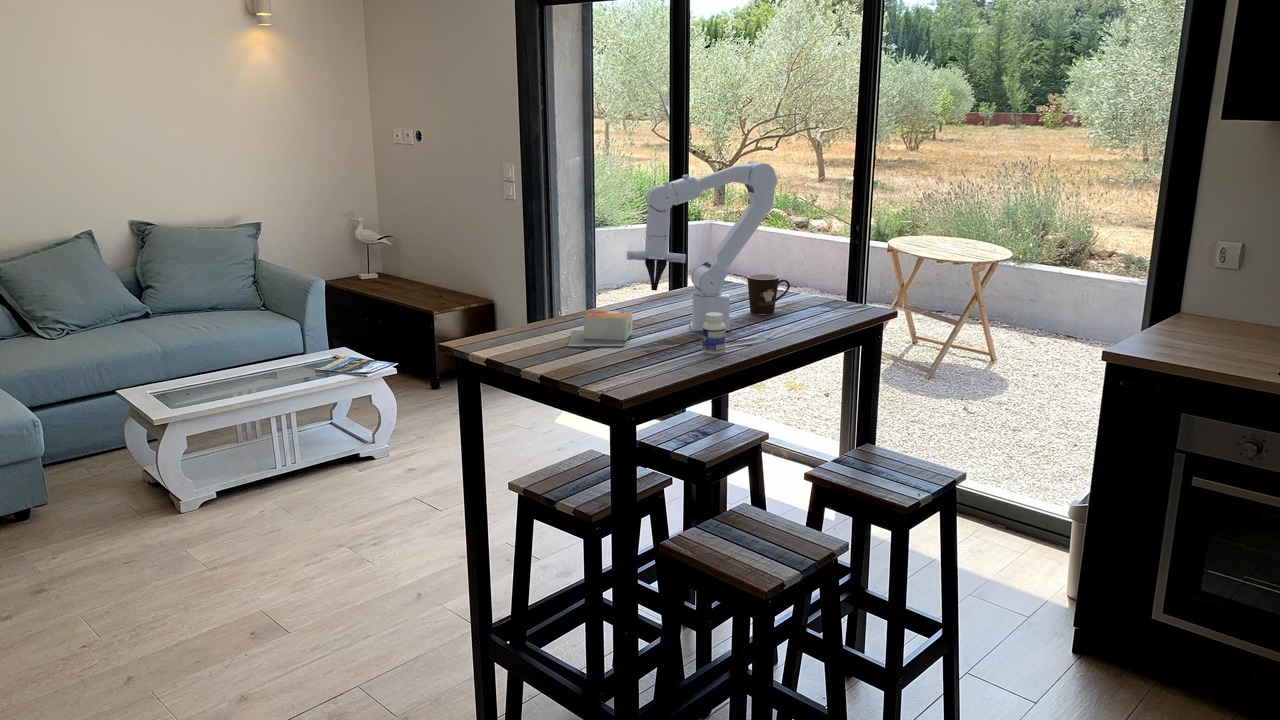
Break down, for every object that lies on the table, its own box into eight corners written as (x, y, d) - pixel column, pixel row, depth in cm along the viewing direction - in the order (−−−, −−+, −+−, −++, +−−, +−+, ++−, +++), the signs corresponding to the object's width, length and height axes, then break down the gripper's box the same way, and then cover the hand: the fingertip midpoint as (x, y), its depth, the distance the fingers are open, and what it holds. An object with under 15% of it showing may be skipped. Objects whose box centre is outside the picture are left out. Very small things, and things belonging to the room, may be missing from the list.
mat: (624, 331, 233) (624, 329, 233) (623, 347, 218) (623, 345, 217) (572, 331, 233) (572, 329, 233) (568, 347, 218) (568, 345, 217)
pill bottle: (702, 348, 216) (702, 311, 214) (724, 348, 216) (725, 311, 214) (702, 354, 211) (703, 316, 209) (725, 354, 211) (726, 316, 209)
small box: (626, 318, 220) (583, 316, 222) (626, 341, 222) (583, 339, 224) (632, 311, 228) (591, 309, 230) (632, 333, 230) (591, 331, 231)
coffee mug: (746, 315, 249) (747, 279, 246) (746, 309, 257) (747, 273, 254) (789, 316, 248) (791, 280, 245) (788, 309, 256) (790, 274, 253)
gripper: (627, 235, 223) (624, 291, 227) (687, 239, 224) (683, 294, 227) (628, 232, 230) (625, 285, 234) (686, 235, 231) (682, 288, 234)
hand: (654, 289), depth 231 cm, fingers closed
